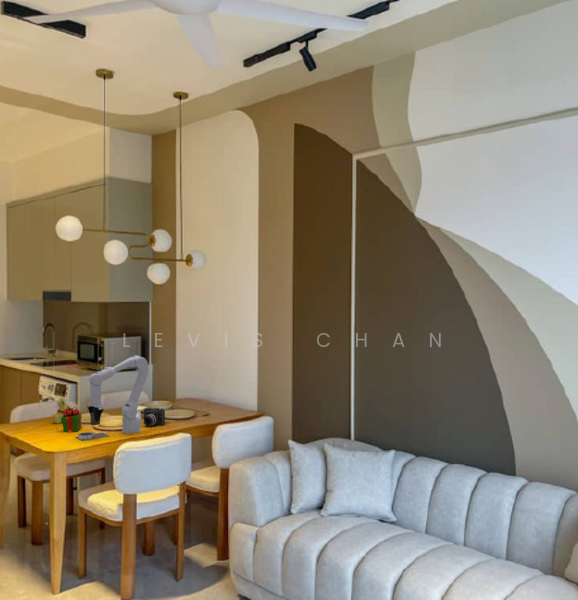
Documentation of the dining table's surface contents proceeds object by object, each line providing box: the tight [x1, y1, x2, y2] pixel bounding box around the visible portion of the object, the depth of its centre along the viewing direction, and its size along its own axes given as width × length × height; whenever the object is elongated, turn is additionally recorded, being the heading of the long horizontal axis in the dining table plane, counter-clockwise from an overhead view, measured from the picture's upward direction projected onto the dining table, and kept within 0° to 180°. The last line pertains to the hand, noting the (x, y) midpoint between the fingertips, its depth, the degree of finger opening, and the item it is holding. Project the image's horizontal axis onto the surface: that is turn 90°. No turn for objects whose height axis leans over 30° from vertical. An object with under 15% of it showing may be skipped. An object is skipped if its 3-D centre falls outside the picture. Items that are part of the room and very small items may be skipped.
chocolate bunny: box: [52, 397, 72, 425], centre depth 357 cm, size 7×11×15 cm, turn 137°
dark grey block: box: [89, 412, 101, 426], centre depth 323 cm, size 5×5×6 cm
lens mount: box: [74, 431, 111, 442], centre depth 322 cm, size 16×10×3 cm, turn 131°
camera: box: [143, 406, 166, 427], centre depth 354 cm, size 14×11×10 cm
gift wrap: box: [51, 406, 89, 434], centre depth 333 cm, size 20×19×14 cm
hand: (95, 420), depth 323 cm, fingers closed on dark grey block, 5 cm apart
